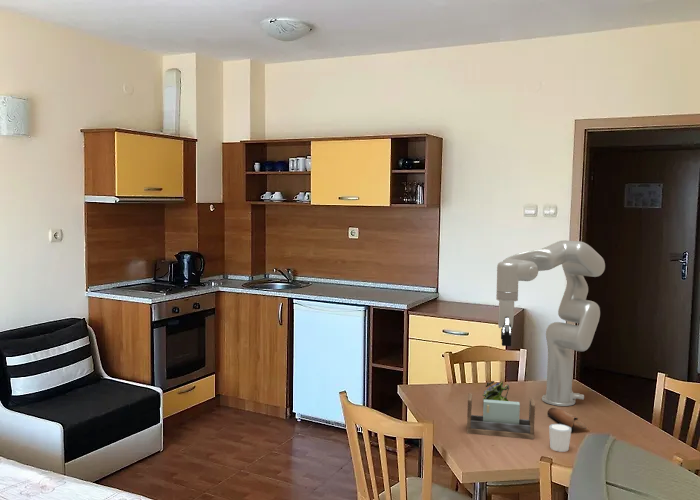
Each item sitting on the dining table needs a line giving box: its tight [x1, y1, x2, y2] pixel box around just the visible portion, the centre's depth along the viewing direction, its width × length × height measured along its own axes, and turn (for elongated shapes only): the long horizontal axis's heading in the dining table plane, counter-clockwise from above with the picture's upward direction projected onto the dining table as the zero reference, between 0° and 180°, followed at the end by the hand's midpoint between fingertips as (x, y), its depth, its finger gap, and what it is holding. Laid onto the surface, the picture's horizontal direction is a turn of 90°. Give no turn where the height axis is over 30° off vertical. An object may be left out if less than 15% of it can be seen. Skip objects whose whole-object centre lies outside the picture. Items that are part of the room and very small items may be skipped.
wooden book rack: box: [466, 392, 536, 440], centre depth 216 cm, size 22×8×12 cm, turn 78°
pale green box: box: [482, 399, 521, 424], centre depth 215 cm, size 12×4×9 cm, turn 78°
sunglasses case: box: [546, 407, 593, 434], centre depth 225 cm, size 18×7×7 cm
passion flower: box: [482, 380, 510, 402], centre depth 244 cm, size 11×11×12 cm
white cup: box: [548, 423, 572, 453], centre depth 202 cm, size 7×7×7 cm
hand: (505, 342), depth 228 cm, fingers open, 9 cm apart
